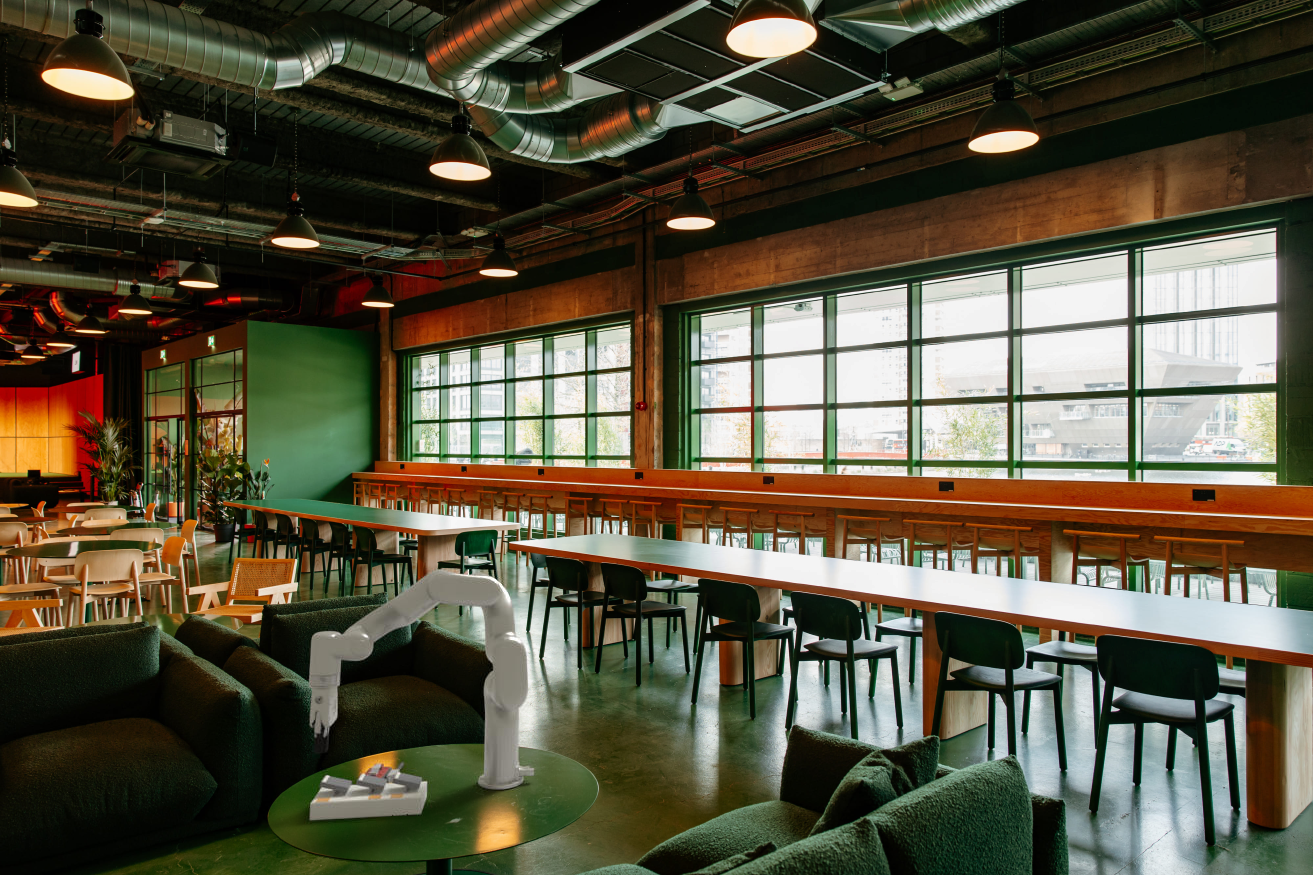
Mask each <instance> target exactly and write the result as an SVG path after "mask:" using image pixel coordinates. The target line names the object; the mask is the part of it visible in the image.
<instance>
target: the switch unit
mask: <svg viewBox="0 0 1313 875" xmlns="http://www.w3.org/2000/svg"><path fill="white" fill-rule="evenodd" d="M427 797H428V781H423V780H422V781H421V784H420V787H419V789H417V788H412V787H407V786H403V785H398V784H394V783H392V782H390V783H386V785H385V787H384V789H383V791H382V790H377V789H372V788H368V787H363V786H358V785H356V784H351V786H350V788H349V790H348V791H347V793H346V792H341V791H337V790H332V789H327V788H322V787H320V789H319V791H318V792H317V793H316V795H315V796H314V798H313V800H312V801H311V802H310V806H309V807H310V808H309V821H319V820H320V821H321V820H334V819H335V820H337V819H340V820H341V819H354V818H373V817H391V816H392V815H393V816H407V814H408V816H409V815H410V816H411V815H422V812H423V809H424V806H425V803H426V800H427Z"/></svg>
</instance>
